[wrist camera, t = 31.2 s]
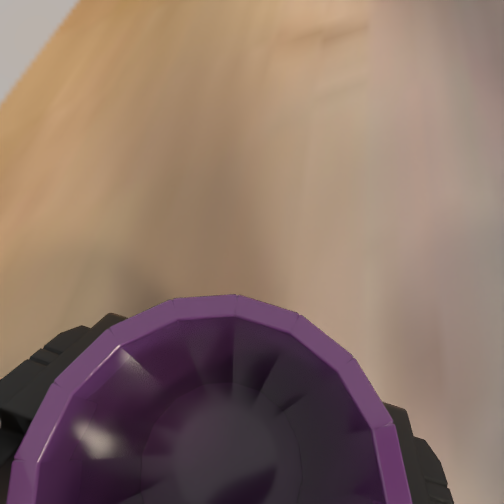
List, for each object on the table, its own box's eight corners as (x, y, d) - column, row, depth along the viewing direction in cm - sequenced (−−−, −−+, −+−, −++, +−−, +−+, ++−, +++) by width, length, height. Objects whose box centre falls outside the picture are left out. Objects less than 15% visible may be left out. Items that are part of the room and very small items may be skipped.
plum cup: (327, 403, 14) (432, 354, 7) (284, 606, 11) (374, 867, 4) (173, 352, 14) (116, 254, 7) (100, 536, 12) (-95, 663, 5)
